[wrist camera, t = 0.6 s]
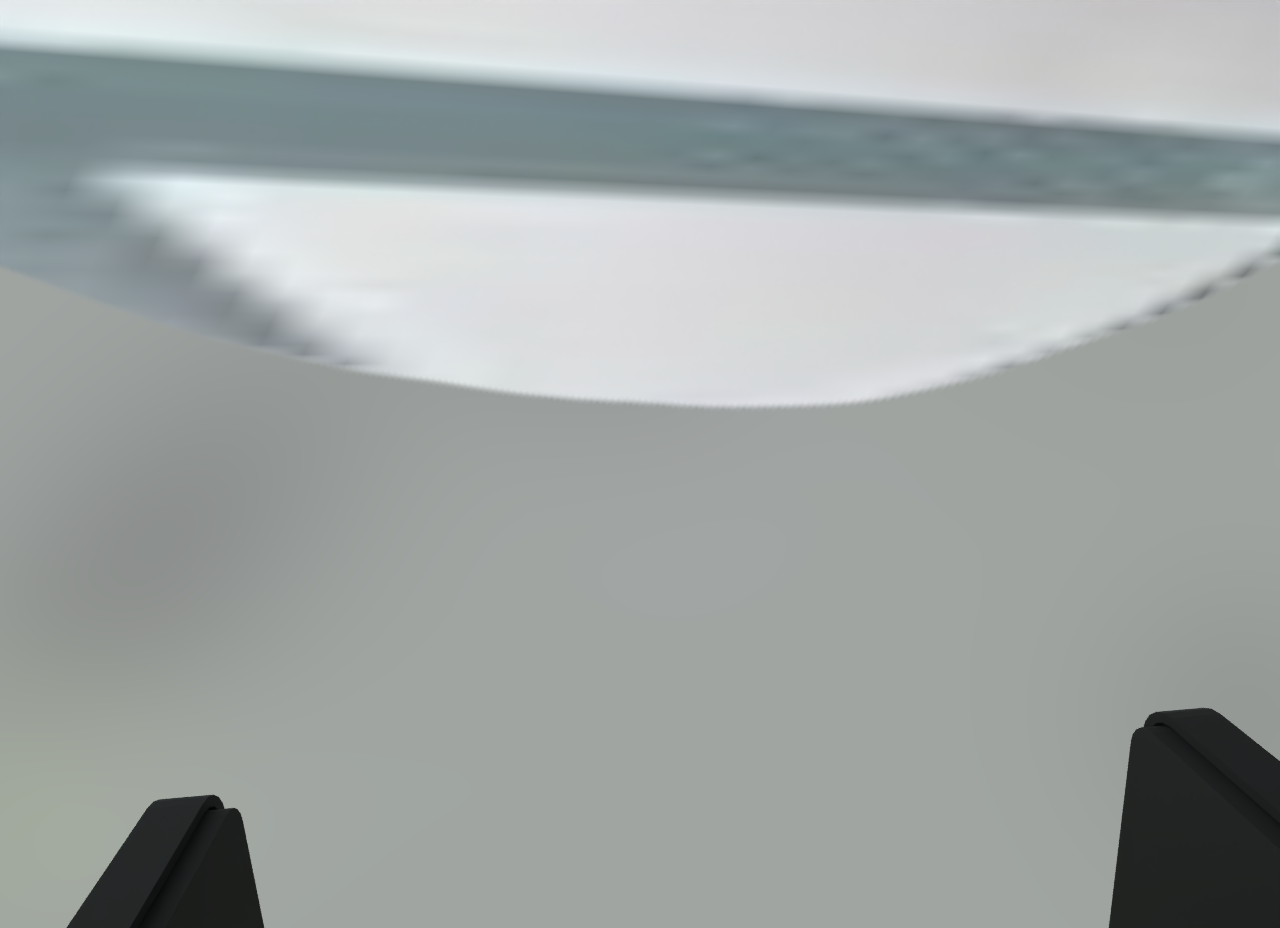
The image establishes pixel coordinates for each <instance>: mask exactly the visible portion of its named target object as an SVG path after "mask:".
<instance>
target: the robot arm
mask: <svg viewBox="0 0 1280 928" xmlns="http://www.w3.org/2000/svg"><path fill="white" fill-rule="evenodd" d="M67 928H264V924H263V919H262V914H261V909H260V904H259V899H258V894H257V890H256V884H255V879H254V874H253V869H252V865H251V859H250V854H249V850H248V844H247V840H246V834H245V829H244V825H243V820H242V817H241V814H240V812H239V811H238V809H235V808H229V809H224V806H223V803H222V801H221V800H220V798H219V797H217V796H215V795H206V796H195V797H183V798H172V799H161V800H157V801H154V802H153V803H152V804H151V805H150V806H149V807H148V808H147V809H146V811H145V813H144V814H143V815H142V817H141V818H140V820H139V821H138V823H137V824H136V826H135V827H134V829H133V830H132V832H131V833H130V835H129V837H128V838H127V839H126V841H125V842H124V844H123V845H122V846H121V848H120V849H119V851H118V852H117V854H116V855H115V857H114V858H113V860H112V861H111V863H110V864H109V866H108V867H107V869H106V870H105V872H104V873H103V875H102V876H101V878H100V879H99V881H98V882H97V883H96V885H95V886H94V888H93V890H92V891H91V893H90V894H89V895H88V897H87V898H86V900H85V901H84V903H83V904H82V906H81V907H80V909H79V910H78V912H77V913H76V915H75V916H74V918H73V919H72V920H71V922H70V923H69V925H68V927H67ZM1109 928H1280V761H1279V760H1278V759H1276V758H1275V757H1274V756H1273V755H1271V754H1270V753H1269V752H1267V751H1266V750H1265V749H1264V748H1262V747H1261V746H1260V745H1259V744H1257V743H1256V742H1255V741H1254V740H1252V739H1251V738H1250V737H1249V736H1247V735H1246V734H1245V733H1244V732H1242V731H1241V730H1240V729H1239V728H1237V727H1236V726H1235V725H1234V724H1232V723H1231V722H1230V721H1229V720H1227V719H1226V718H1225V717H1223V716H1222V715H1221V714H1220V713H1218V712H1216V711H1214V710H1213V709H1209V708H1197V709H1185V710H1174V711H1162V712H1155V713H1153V714H1151V715H1149V717H1148V718H1147V720H1146V721H1145V724H1144V727H1142V728H1139V729H1137V730H1136V731H1135V732H1134V733H1133V736H1132V740H1131V746H1130V754H1129V763H1128V771H1127V780H1126V788H1125V796H1124V805H1123V813H1122V822H1121V830H1120V839H1119V847H1118V856H1117V864H1116V872H1115V881H1114V889H1113V898H1112V906H1111V915H1110V923H1109Z"/></svg>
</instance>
